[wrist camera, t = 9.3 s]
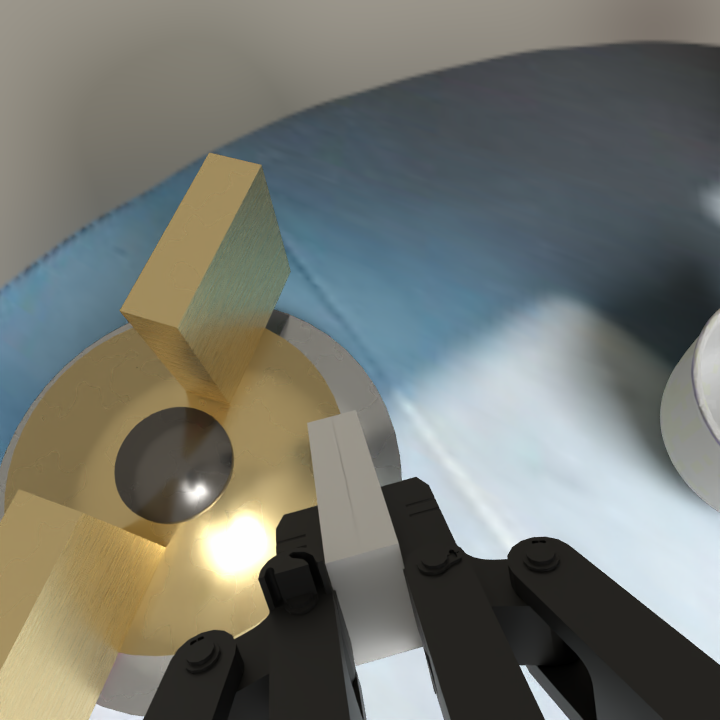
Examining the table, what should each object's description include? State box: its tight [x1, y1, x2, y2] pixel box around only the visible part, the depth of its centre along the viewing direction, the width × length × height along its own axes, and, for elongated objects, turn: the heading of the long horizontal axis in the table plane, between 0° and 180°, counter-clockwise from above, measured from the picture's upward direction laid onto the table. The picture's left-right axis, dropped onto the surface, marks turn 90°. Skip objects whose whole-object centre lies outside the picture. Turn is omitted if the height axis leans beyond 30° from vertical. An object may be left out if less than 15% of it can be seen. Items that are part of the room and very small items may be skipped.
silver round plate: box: [0, 309, 402, 716], centre depth 32 cm, size 21×21×2 cm
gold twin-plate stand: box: [0, 153, 341, 720], centre depth 26 cm, size 18×17×10 cm
